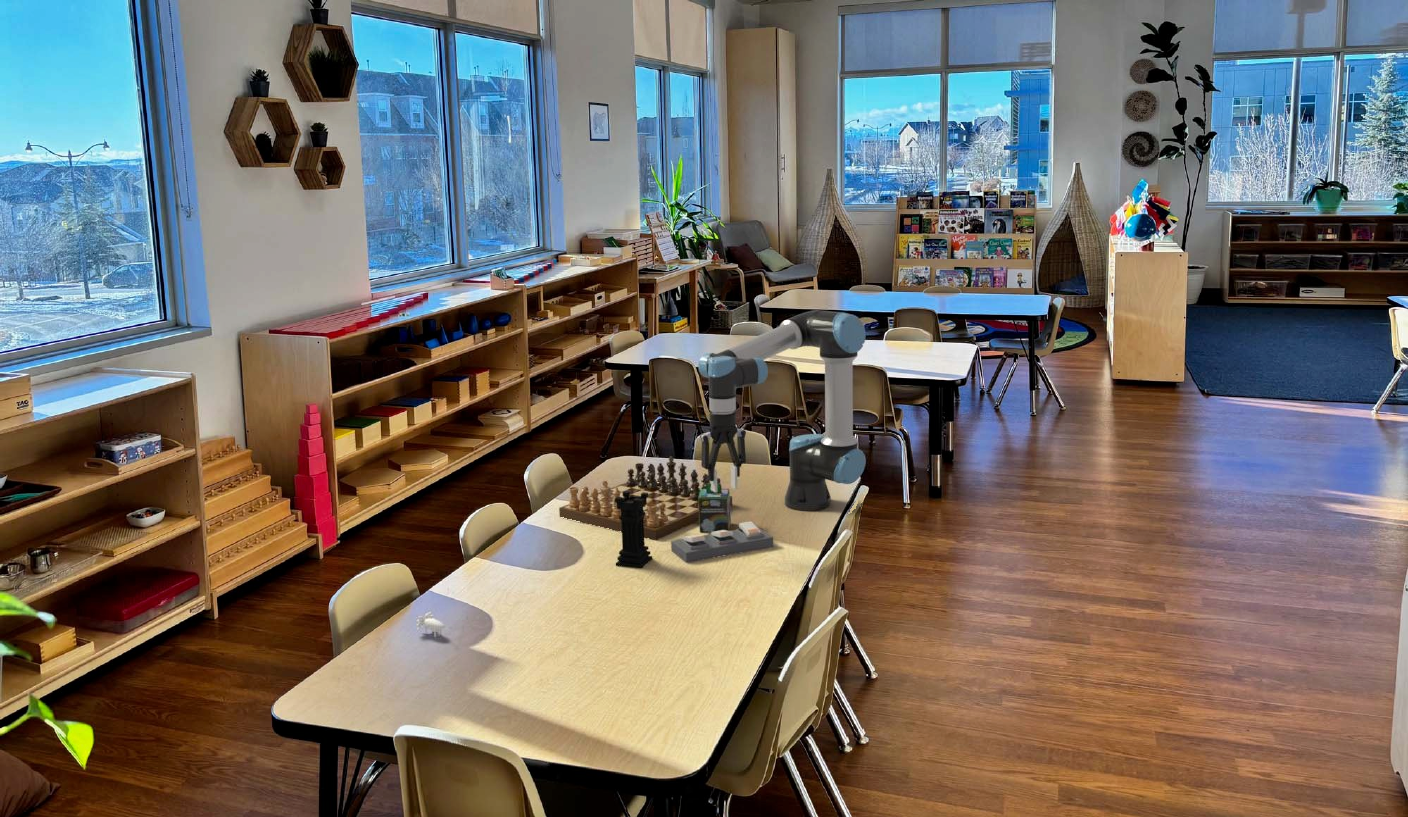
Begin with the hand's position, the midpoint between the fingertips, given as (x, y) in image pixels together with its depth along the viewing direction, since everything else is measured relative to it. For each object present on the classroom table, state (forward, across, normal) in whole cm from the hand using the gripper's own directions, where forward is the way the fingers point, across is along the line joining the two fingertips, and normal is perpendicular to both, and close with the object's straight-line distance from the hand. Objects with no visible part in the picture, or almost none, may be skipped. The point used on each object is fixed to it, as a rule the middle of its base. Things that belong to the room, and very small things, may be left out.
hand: (724, 489), depth 321 cm
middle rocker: (+15, 0, -2) cm, 15 cm away
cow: (+19, +88, +20) cm, 92 cm away
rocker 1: (+15, +9, -2) cm, 17 cm away
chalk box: (+19, -6, -20) cm, 28 cm away
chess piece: (+19, +27, -4) cm, 33 cm away
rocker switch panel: (+19, 0, -2) cm, 19 cm away
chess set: (+20, +7, -46) cm, 50 cm away
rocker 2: (+15, -9, -2) cm, 17 cm away
